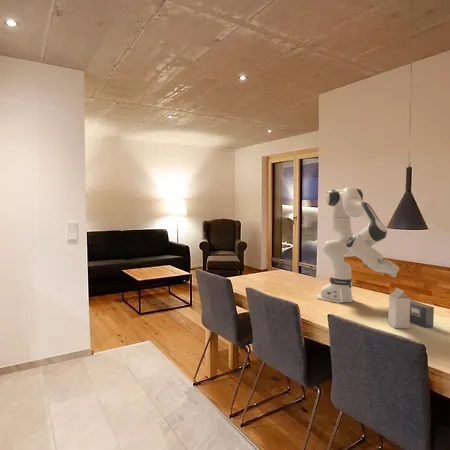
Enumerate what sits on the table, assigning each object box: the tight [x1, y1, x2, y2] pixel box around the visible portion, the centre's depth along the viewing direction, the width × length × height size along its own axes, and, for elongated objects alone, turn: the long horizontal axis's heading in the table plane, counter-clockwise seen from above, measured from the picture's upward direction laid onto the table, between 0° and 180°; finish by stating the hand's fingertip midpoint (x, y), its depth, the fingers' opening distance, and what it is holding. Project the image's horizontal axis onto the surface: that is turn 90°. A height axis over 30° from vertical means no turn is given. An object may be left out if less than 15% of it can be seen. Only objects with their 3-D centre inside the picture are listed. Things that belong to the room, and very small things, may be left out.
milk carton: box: [387, 287, 411, 329], centre depth 172 cm, size 7×7×19 cm
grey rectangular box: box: [409, 299, 435, 329], centre depth 181 cm, size 22×6×10 cm, turn 18°
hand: (394, 276), depth 177 cm, fingers closed
